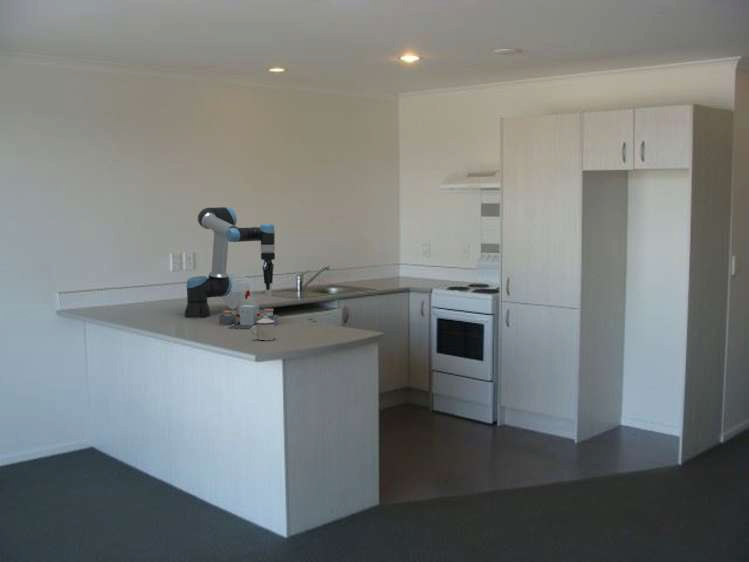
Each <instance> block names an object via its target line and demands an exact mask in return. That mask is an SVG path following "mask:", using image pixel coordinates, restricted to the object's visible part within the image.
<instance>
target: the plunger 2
mask: <svg viewBox="0 0 749 562" xmlns="http://www.w3.org/2000/svg"><path fill="white" fill-rule="evenodd" d="M264 311H265V315H266V316H267V317H273V315H274V308H264Z"/></svg>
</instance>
